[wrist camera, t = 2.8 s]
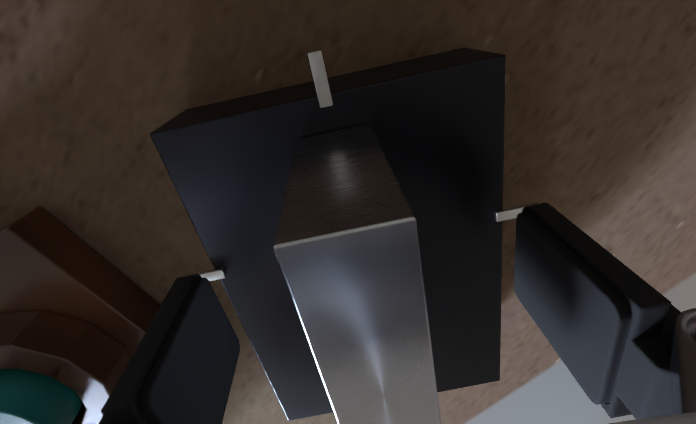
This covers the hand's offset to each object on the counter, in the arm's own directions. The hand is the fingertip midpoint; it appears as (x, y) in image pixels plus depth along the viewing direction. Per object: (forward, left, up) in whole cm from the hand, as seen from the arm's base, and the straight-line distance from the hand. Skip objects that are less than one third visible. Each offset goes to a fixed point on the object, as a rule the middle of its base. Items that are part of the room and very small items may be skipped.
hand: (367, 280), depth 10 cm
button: (-1, -15, -2) cm, 15 cm away
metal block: (0, 0, -2) cm, 2 cm away
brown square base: (-1, -15, -5) cm, 16 cm away
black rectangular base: (+2, -1, -5) cm, 5 cm away
